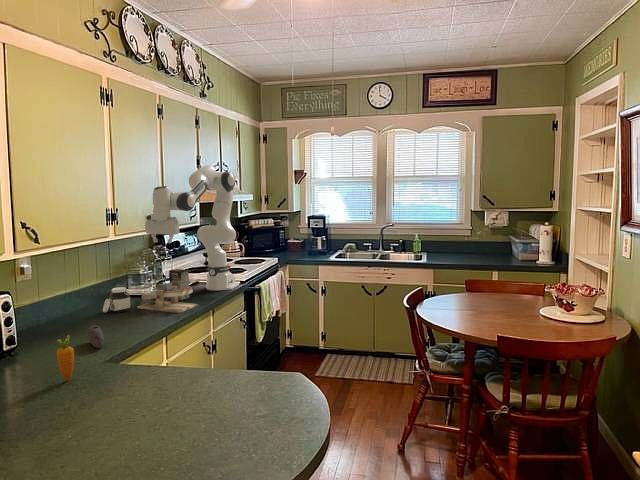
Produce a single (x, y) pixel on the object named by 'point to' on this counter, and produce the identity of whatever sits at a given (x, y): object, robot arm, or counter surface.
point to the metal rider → (165, 287)
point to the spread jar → (117, 300)
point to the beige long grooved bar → (166, 294)
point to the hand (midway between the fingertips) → (162, 242)
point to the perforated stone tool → (95, 336)
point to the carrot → (65, 358)
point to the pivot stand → (167, 304)
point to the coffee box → (179, 280)
